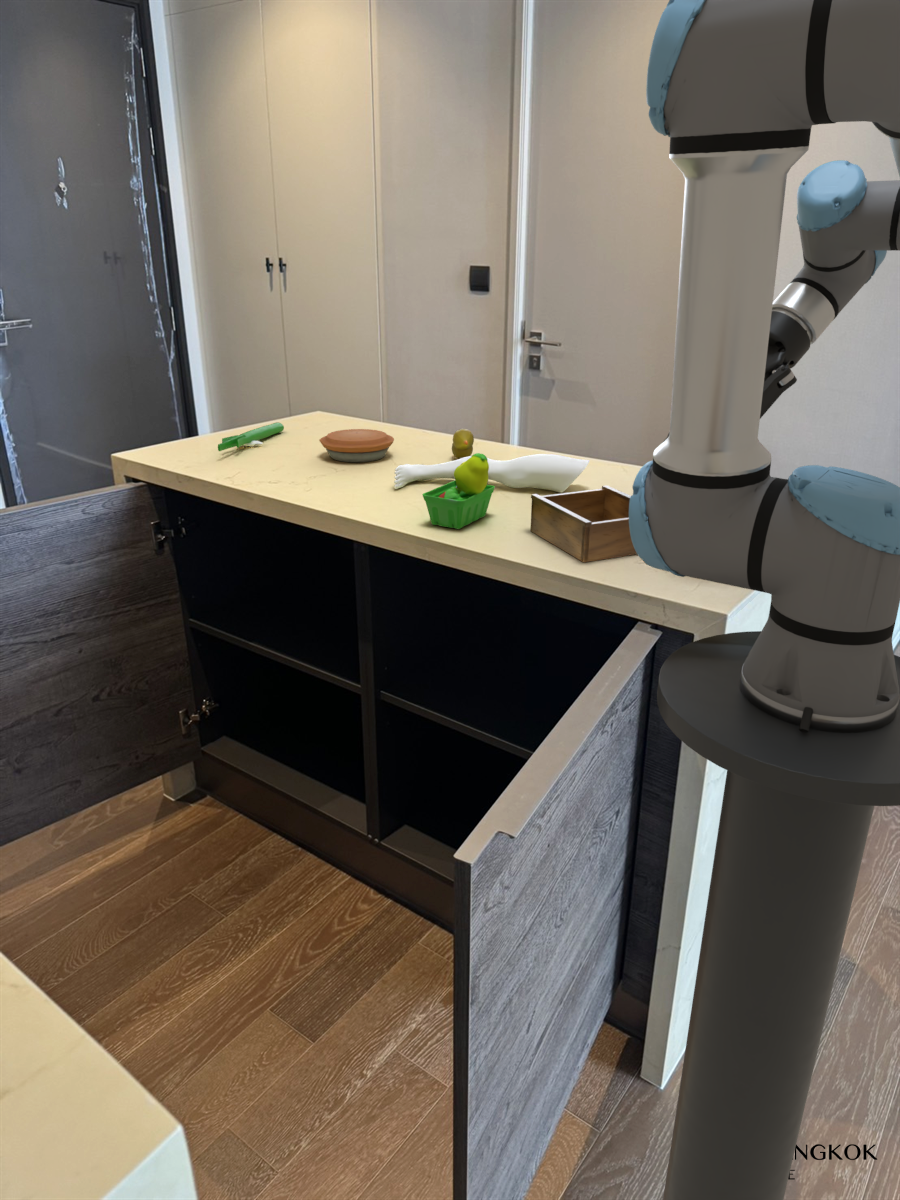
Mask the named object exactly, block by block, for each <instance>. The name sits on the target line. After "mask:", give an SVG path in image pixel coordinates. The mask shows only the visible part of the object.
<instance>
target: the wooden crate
mask: <svg viewBox="0 0 900 1200" xmlns="http://www.w3.org/2000/svg"><path fill="white" fill-rule="evenodd" d="M631 496H632V495H630V494H628V493H626V492H623V491H622V490H619V489H616V488H615V487H612V486H610V485H608V484H607V485H601V488H596V489H587V490H577V491H571V492H562V493H554V494H546V495H539V494H538V493H532V494H530V498H531V508H530V509H531V510H530V511H531V512H530V532H531V533H533V534H535V535H537V536H538V537H540V538H541V539H543V540H545V541H547V542H548V543H550V544H552V545H554V546H555V547H557V548H559V549H560V550H562V551H564V552H566V553H567V554H568V555H570V556H572V557H574V558H575V559H577V560H578V561H581V563H589V562H595V561H601V560H607V559H608V560H609V559H615V558H619V557H626V556H633V555H634V556H635V555H638V554H637V553H636V551H635V549H634V546H633V543H632V540H631V535H630V529H629V501H630V497H631Z"/></svg>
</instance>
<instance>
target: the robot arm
mask: <svg viewBox="0 0 900 1200" xmlns="http://www.w3.org/2000/svg"><path fill="white" fill-rule="evenodd" d="M645 87H646V88H645V90H646V91H645V92H646V93H645V94H646V105H647V106H648V107H649V111H648V118H649V121H650V124H651V125H652V127H653V129H654V130H655V131H656V132H657V133H658V134H660V135H662V136H665V137H666V136H667V137H668V138H669V154H668V156H669V157H668V158H669V160H670V161H671V162H672V163H673V165H675V166H676V168H677V169H678V170H679V171H680V172H681V173H682V176H683V178H684V194H683V209H682V210H683V211H682V225H681V226H682V227H681V242H680V258H679V274H678V289H677V306H676V322H675V323H676V324H675V337H674V338H675V339H674V354H673V369H672V371H673V372H672V386H671V387H672V388H671V400H670V401H671V402H670V418H669V421H670V422H669V431H668V434H667V436H666V437H665V438H664V439H663V441H662V442H661V443H660V444H659V445H658V446H657V447H656V448H655V449H654V450H653V452H652V460H649V461H647V462H646V463H644V464H643V465H642V466H641V467H640V468H639V470H638V471H637V474H636V476H635V477H634V480H633V483H632V495H630V496H631V497H630V501H629V529H630V535H631V540H632V543H633V546H634V549H635V551H636V553H637V554H636V555H637V556H638V557H639V559H641V560H642V561H643V562H644V564H646V565H647V566H649V567H651V568H654V569H657V570H660V571H665V572H668V573H671V574H673V575H674V576H677V577H682V578H684V577H689V578H693V579H699V580H703V581H708V582H712V583H717V584H722V585H726V586H732V587H735V588H736V587H737V588H741V589H746V590H751V591H757V592H759V593H760V592H761V593H766V594H769V595H770V605H769V612H768V618H767V621H766V622H765V624H764V626H763V628H762V629H761V630H760V631H761V633H760V635H759V637H758V638H757V640H756V642H755V644H754V646H753V647H752V649H751V650H750V652H749V654H748V655H747V657H746V660H745V662H744V664H743V666H742V672H741V679H740V688H741V691H742V693H743V694H744V696H745V697H746V698H747V699H748V700H749V701H750V702H751V703H752V704H753V705H755V706H756V707H757V708H759V709H760V710H762V711H764V712H765V713H767V714H769V715H771V716H773V717H775V718H778V719H780V720H783V721H785V722H788V723H791V724H794V725H798V726H800V727H799V730H800V731H801V732H805V733H807V732H808V731H809V728H810V729H815V730H821V731H828V732H842V733H852V732H864V731H870V730H874V729H878V728H880V727H883V726H885V725H887V724H888V723H890V722H891V721H892V720H893V719H894V717H895V715H896V712H897V708H898V704H899V699H900V694H899V685H898V679H897V672H896V666H895V659H894V655H895V654H894V648H893V635H894V630H895V625H896V621H897V617H898V613H899V608H900V486H899V485H896V484H895V483H893V482H891V481H889V480H886V479H883V478H881V477H878V476H876V475H872V474H869V473H865V472H863V471H858V470H854V469H849V468H844V467H839V466H832V465H831V466H823V465H819V464H817V465H816V464H812V465H811V464H810V465H802V466H798V467H797V468H794V470H793V471H792V473H791V474H790V475H789V476H788V478H781V477H777V476H771V467H772V453H771V452H770V450H769V449H767V447H765V445H764V444H762V442H761V441H760V440H759V429H760V423H761V422H760V420H761V419H762V417H763V416H764V415H765V414H766V413H767V412H768V411H769V410H770V408H771V407H773V405H774V404H775V402H776V401H777V400H778V399H779V398H780V397H781V396H782V394H783V393H784V392H785V391H787V390H788V389H790V388H791V387H792V386H793V385H795V384H796V383H797V382H798V378H797V377H796V376H795V374H794V372H793V371H792V369H793V368H794V367H795V366H796V365H797V364H798V363H799V361H800V360H801V359H802V358H803V357H804V356H805V354H806V353H807V352H808V351H809V350H810V349H811V345H813V344H815V342H817V340H818V339H819V338H820V336H822V334H824V332H825V331H826V329H828V327H829V326H830V325H831V323H832V322H833V321H834V320H835V319H836V318H837V317H838V315H839V314H840V313H841V311H843V310H844V308H845V307H846V306H847V305H848V304H849V303H850V301H851V300H852V299H853V298H854V297H855V296H856V295H857V294H858V292H859V291H860V290H861V289H862V288H863V287H864V286H865V285H866V284H868V282H869V281H870V280H871V279H872V277H873V276H874V275H875V273H876V271H877V270H878V269H879V268H880V266H881V264H882V263H884V261H885V258H886V256H887V253H888V251H898V252H899V251H900V179H899V180H897V179H896V180H895V179H894V180H868V181H867V178H866V175H865V172H864V170H863V168H862V167H860V165H858V164H857V163H855V164H854V163H853V162H850V161H849V160H844V159H843V160H842V159H841V160H840V159H839V160H831V161H828V162H825V163H823V164H820V165H819V166H817V167H815V168H813V170H811V171H810V172H809V173H807V174H806V175H805V176H804V178H803V179H802V180H801V182H800V184H799V186H798V188H797V191H796V192H797V193H796V206H797V207H796V209H797V210H796V211H797V214H796V223H797V225H798V231H799V237H800V243H801V250H802V259H803V266H802V268H801V269H800V270H799V271H798V272H797V274H796V275H795V276H794V278H793V279H792V280H791V281H789V284H788V285H787V286H786V287H785V288H784V289H783V290H782V291H781V292H780V293H779V295H777V297H776V298H775V299H774V295H775V288H776V287H775V286H776V277H777V269H778V259H779V249H780V241H781V232H782V222H783V213H784V207H785V206H784V205H785V195H786V187H787V178H788V173H789V172H790V170H791V169H792V168H793V166H795V165H796V163H797V162H798V161H799V160H800V159H802V157H803V156H804V155H805V154H806V153H807V152H808V151H809V149H810V142H811V141H810V139H811V132H812V128H813V126H817V125H830V124H836V123H849V122H850V123H851V122H854V123H856V122H868V123H872V124H873V126H874V127H875V128H876V129H877V130H878V131H879V132H880V133H882V134H883V135H885V136H886V137H887V138H888V140H889V143H890V147H891V151H892V155H893V157H894V162H895V166H896V170H897V172H898V177H900V0H668V2H667V4H666V7H665V8H664V9H663V12H662V13H661V16H660V18H659V21H658V23H657V26H656V29H655V31H654V35H653V39H652V43H651V49H650V53H649V59H648V65H647V72H646V86H645Z"/></svg>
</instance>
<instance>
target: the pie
mask: <svg viewBox="0 0 900 1200" xmlns="http://www.w3.org/2000/svg"><path fill="white" fill-rule="evenodd" d="M318 441H319V443H320V444H321V446H322V447H323V448H325V451H326V452H327V453H328V455H329V457H330V458H331V459H333V460H335V461H338V462H342V463H343V462H344V463H368V462H374V461H378V460H381V459H383V458H385V456H386V454H387V452H388V450H389V448H390V447H391V446H392V445H393V444H394V441H395V438H394V437H393V436H392V435H390V434H387V432H384V431H383V430H378V429H368V428H351V429H349V428H348V429H339V430H335V431H331V432H329V433H327V435H324V436H323V437H320V438H319V439H318Z"/></svg>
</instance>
